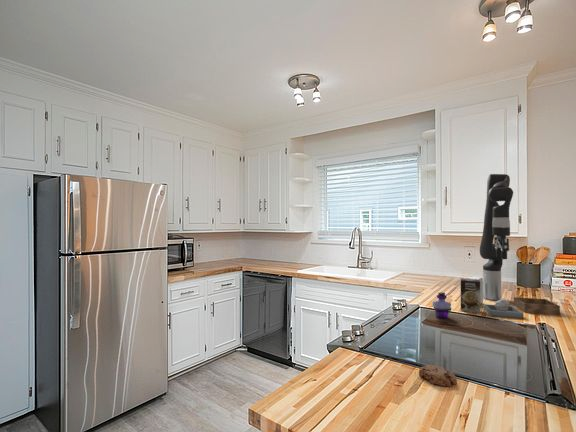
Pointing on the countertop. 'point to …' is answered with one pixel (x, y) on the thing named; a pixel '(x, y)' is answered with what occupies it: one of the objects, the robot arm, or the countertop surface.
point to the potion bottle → (442, 306)
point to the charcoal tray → (510, 313)
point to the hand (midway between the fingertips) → (501, 258)
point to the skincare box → (480, 286)
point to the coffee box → (470, 295)
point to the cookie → (438, 375)
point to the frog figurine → (502, 305)
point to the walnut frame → (536, 306)
